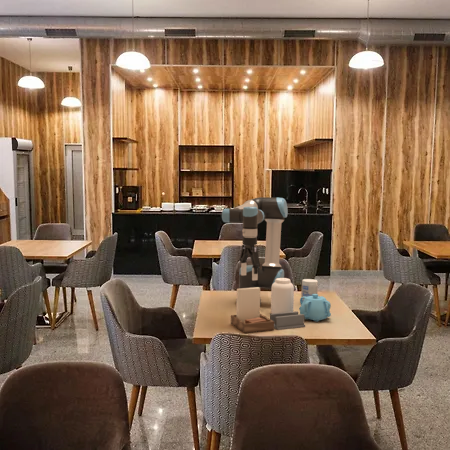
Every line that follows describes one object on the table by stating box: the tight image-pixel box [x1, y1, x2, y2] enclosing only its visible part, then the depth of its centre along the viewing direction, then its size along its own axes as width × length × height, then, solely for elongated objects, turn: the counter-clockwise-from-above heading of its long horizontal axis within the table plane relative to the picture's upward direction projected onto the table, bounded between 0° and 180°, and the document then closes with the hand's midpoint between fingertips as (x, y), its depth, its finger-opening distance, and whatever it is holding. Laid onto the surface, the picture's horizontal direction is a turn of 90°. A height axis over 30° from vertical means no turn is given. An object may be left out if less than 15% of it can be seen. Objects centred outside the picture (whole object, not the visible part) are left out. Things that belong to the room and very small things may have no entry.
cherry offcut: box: [245, 317, 266, 324], centre depth 264 cm, size 6×9×2 cm, turn 124°
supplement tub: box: [300, 278, 319, 302], centre depth 316 cm, size 10×10×15 cm
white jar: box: [270, 277, 295, 314], centre depth 293 cm, size 12×12×20 cm
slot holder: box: [269, 311, 306, 331], centre depth 270 cm, size 10×16×6 cm, turn 112°
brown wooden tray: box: [230, 313, 275, 334], centre depth 267 cm, size 18×16×4 cm
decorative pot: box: [298, 293, 332, 322], centre depth 284 cm, size 16×16×14 cm
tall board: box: [235, 287, 261, 322], centre depth 271 cm, size 3×12×18 cm, turn 112°
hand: (249, 277), depth 269 cm, fingers open, 13 cm apart
